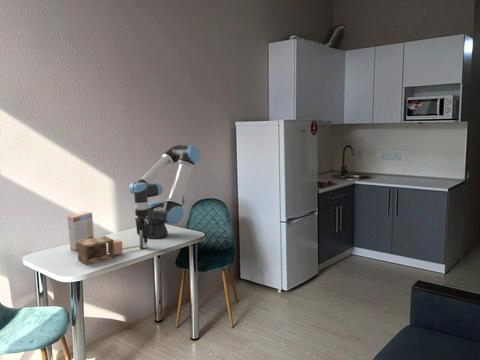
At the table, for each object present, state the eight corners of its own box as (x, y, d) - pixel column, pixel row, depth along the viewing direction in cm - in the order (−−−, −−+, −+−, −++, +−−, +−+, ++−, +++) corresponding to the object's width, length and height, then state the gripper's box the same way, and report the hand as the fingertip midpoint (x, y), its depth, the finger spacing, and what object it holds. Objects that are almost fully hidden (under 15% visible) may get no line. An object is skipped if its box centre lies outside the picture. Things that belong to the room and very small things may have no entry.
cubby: (106, 253, 245) (104, 235, 244) (114, 258, 237) (113, 239, 235) (78, 260, 235) (76, 241, 233) (86, 264, 226) (84, 245, 225)
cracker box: (88, 243, 267) (86, 211, 264) (94, 244, 264) (92, 212, 261) (69, 249, 255) (66, 215, 252) (76, 250, 252) (73, 216, 249)
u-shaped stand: (142, 246, 258) (142, 229, 257) (147, 248, 253) (147, 230, 252) (108, 252, 243) (107, 234, 242) (112, 255, 239) (112, 236, 238)
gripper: (129, 207, 255) (131, 245, 259) (142, 211, 243) (144, 251, 246) (140, 205, 260) (142, 242, 263) (154, 209, 248) (156, 248, 251)
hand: (143, 246), depth 255 cm, fingers closed on u-shaped stand, 3 cm apart
